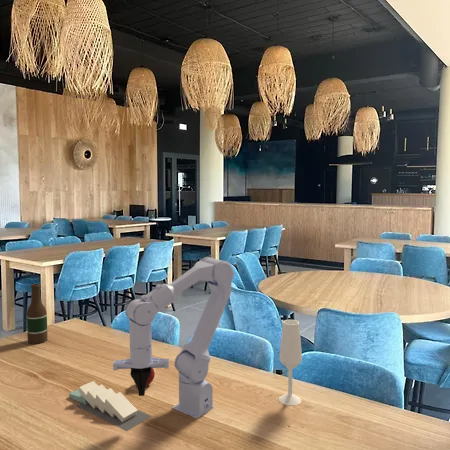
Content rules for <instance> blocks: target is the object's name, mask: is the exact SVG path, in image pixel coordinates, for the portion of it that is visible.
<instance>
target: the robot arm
mask: <svg viewBox="0 0 450 450" xmlns="http://www.w3.org/2000/svg"><path fill="white" fill-rule="evenodd" d="M234 276H235V272H234V269H233V267H232V264H231V262H229V261H227V260H220V259H218V258H213V257H211V256H206V257H203V258H202V259H201V260H199V261H196V262H195V264H194V265H193V267H191V268H190V269H188V270H187V271H186V272H185V273H183V274H182V275H180V276H179V277H177V278H176V279H175V280H174V281H172V282H171V283H170V284H167V283H162V284H160V283H158V284H157V285H155V289H153V290H151V291H150V292H148V293H147V294H143V295H141V296H140V297H141V298H140V299H139V298H138V299H137V298H135V299H133V300H132V301H130V302H129V303H128V305H127V307H126V309H125V310H124V312H125V316H126V317H127V319H128V320H129V322H128V324H129V358H125V359H118V360H115V359H114V361H113V362H112V370H113V371H118V370H124V369H125V370H127V369H128V370H130V373H129V375H130V376H131V378H132V379H133V381H134V384H135V386H136V389H137V392H138V397H144V396H145V394H146V387H147V386H146V383H147V380H148V378H149V376H150V373H151V369H152V368H153V369H159V368H160V369H161V368H164V369H166V370H167V369H169V368H170V367H169V366H170V359H169V358H161V357H160V358H159V357H153V350H152V349H153V347H152V345H153V344H152V342H153V341H152V340H153V339H152V338H153V337H152V322H153V321H154V319H155V318H156V315H157V314H158V313H159V312H161V311H162V310H164V309H165V308H166V307H168V306H170V305H171V304H172V303H174V302H175V300H176V297H177V295H179V294H180V293H181V292H183V291H185V290H186V289H188V288H190V287H192V286H193V285H195V284H197V283H199V282H206V283H207V285H208V287H209V290H210V294H209V297H208V299H207V301H206V304H205V307H204V309H203V311H202V314H201V316H200V318H199V321H198V323H197V326H196V328H195V330H194V333H193V335H192V337H191V340H190V342H188V343H186V344H184V345H183V347H182V349H181V350H180V351H179V353H178V354H177V355H176V357H175V359H174V367H175V369H176V370H177V371H178V403H177V404H176V405H174V406H172V410H176V411H178V412H180V413H182V414H185V415H188V416H191V417H193V418H195V419H199V418H201V417H202V416H203V415H205V414H206V413H207V412H209V411H211V410H212V409H214V408H215V405H214V404H213V400H214V399H213V397H214V396H213V393H214V391H213V385H212V384H211V383H210V382H209V381H207V380H206V379H205V378H206V377H207V375H208V374H209V363H210V362H211V356H210V353H209V348H210V345H211V343H212V340H213V338H214V336H215V333H216V330H217V328H218V326H219V324H220V320H221V318H222V316H223V313H224V310H225V309H226V306H227V303H228V301H229V299H230V296H231V292H232V280H233V278H234Z"/></svg>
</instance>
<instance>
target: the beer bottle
mask: <svg viewBox="0 0 450 450" xmlns="http://www.w3.org/2000/svg"><path fill="white" fill-rule="evenodd" d="M41 287H42V286H41V284H40V283H33V284H30V288H31V296H30V297H31V298H30V299H31V300H30V305H29V306H28V307H27V309H26V332H27V334H26V335H27V336H26V337H27V342H28V344H29V345H38V344H44V343H45V342H47V341H48V315H47V309H46V307H45V305H44V304H43V302H42V297H41V296H42V295H41Z"/></svg>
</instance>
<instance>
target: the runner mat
mask: <svg viewBox="0 0 450 450" xmlns="http://www.w3.org/2000/svg"><path fill="white" fill-rule="evenodd" d="M75 407H77V408H79V409H81V410H83V411H85V412H87V413H89V414H91V415H93V416H95V417H98V418H100V419H102V420H104V421H106V422H108V423H109V424H112V425H114V426H116V427H118V428H120V429H122V430H124V431H126V432H128V431H130V430H131V429H133V428H135V427H136V426H138V425H140V424H142V423H143V422H145V421H146V420H148V419H150V418H152V415H150V414H148V413H146V412H143V411H141V410H139V409H137V410H138V411H137V414H136V415H135V416H133V417H131V418H129V419H127V420H126V421H124V422H121V421H120V419H119V418H118V417H117V416H115V417H113V418H112V417H111V416H110V415H109V413H108V412H105V413H102V412H101V410H100V409H99V408H98V407H97V408H95V409H94V408H93V407H92V406H91V405H90V404H89V403H88V404H86V405H85V404H83V403H79V404H76V406H75Z"/></svg>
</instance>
